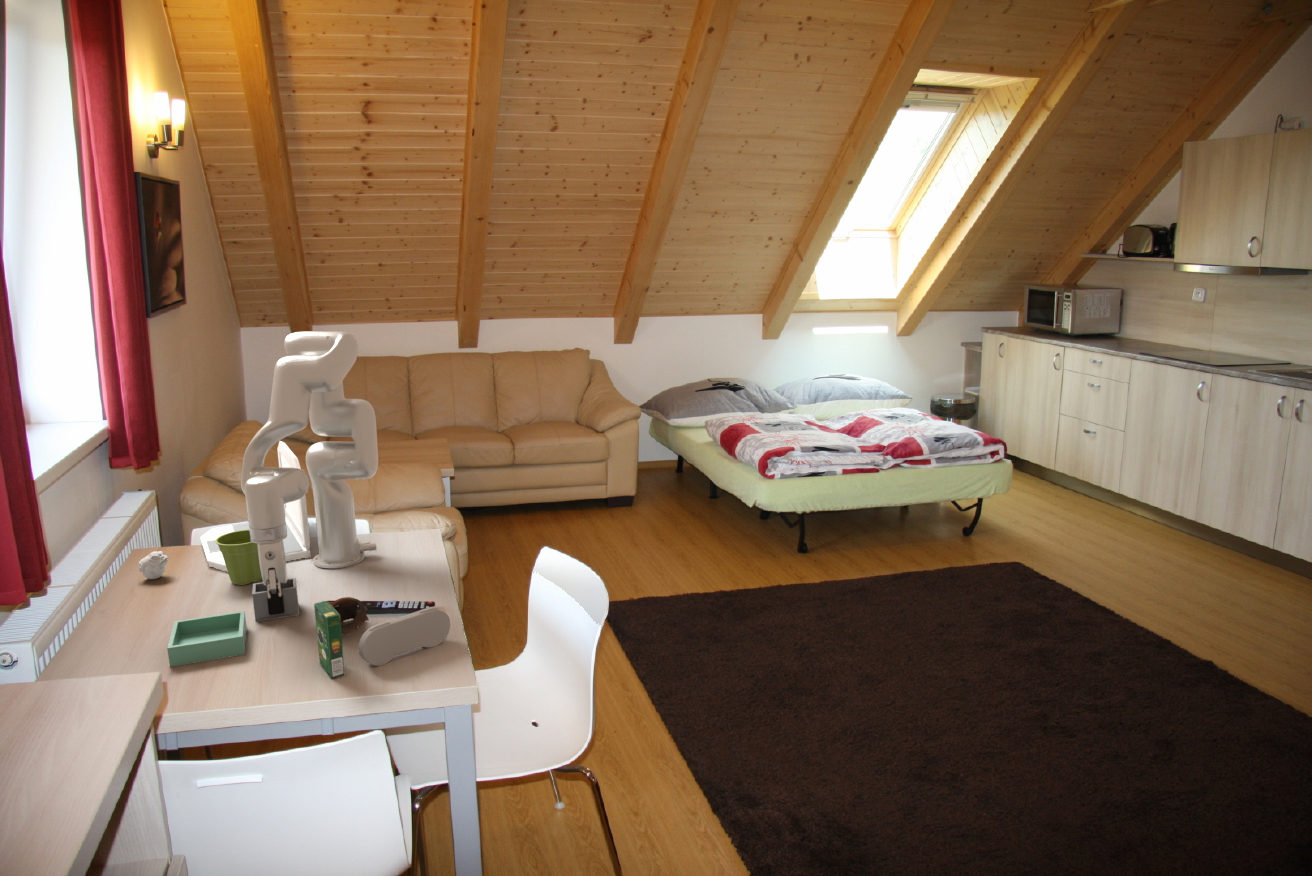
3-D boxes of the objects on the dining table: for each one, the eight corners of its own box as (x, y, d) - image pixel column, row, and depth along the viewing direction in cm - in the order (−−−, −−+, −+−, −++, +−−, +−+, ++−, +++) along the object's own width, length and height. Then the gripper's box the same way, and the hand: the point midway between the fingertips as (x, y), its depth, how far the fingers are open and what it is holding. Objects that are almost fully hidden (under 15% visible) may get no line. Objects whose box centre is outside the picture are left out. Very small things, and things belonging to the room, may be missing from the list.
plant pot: (274, 568, 233) (269, 526, 230) (270, 585, 222) (265, 541, 219) (223, 574, 229) (218, 531, 227) (217, 592, 218) (211, 547, 216)
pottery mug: (378, 622, 202) (375, 599, 197) (356, 656, 195) (353, 634, 190) (328, 605, 204) (324, 582, 198) (305, 639, 197) (300, 616, 191)
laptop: (199, 538, 257) (187, 446, 251) (290, 523, 269) (281, 436, 263) (210, 576, 229) (197, 474, 223) (312, 558, 241) (302, 461, 235)
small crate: (298, 604, 211) (295, 577, 210) (299, 614, 205) (296, 587, 204) (256, 610, 208) (252, 583, 206) (255, 621, 202) (252, 594, 200)
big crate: (246, 627, 199) (244, 610, 198) (244, 654, 186) (242, 636, 185) (176, 638, 194) (174, 621, 193) (169, 666, 181) (167, 648, 181)
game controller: (446, 637, 194) (443, 600, 192) (452, 640, 192) (449, 603, 190) (359, 668, 181) (355, 628, 179) (364, 672, 179) (361, 632, 177)
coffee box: (346, 676, 177) (340, 613, 174) (331, 680, 175) (325, 617, 172) (334, 660, 183) (327, 599, 180) (319, 664, 182) (312, 603, 179)
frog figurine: (163, 583, 224) (159, 556, 222) (134, 583, 224) (130, 556, 223) (176, 573, 230) (172, 547, 228) (148, 574, 230) (144, 547, 229)
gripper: (287, 541, 196) (295, 619, 200) (286, 518, 211) (294, 591, 215) (248, 546, 193) (258, 625, 197) (250, 522, 209) (259, 596, 213)
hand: (276, 606), depth 206 cm, fingers closed on small crate, 6 cm apart
